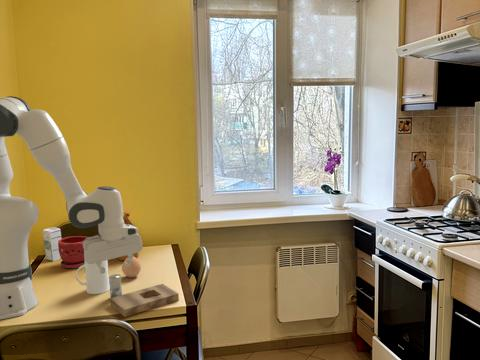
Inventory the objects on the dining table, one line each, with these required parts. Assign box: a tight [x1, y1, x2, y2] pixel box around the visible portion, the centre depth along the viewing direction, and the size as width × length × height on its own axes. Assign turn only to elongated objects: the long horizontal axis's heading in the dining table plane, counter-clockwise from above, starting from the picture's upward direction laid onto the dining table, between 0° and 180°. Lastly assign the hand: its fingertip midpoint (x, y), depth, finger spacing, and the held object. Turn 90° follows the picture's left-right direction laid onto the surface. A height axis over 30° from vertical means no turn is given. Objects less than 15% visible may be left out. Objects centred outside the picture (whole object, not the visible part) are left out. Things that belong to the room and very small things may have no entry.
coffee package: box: [118, 208, 140, 261], centre depth 202 cm, size 10×12×22 cm
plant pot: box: [58, 235, 88, 269], centre depth 192 cm, size 13×13×12 cm
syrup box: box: [42, 226, 62, 262], centre depth 202 cm, size 6×6×14 cm
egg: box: [121, 257, 142, 278], centre depth 176 cm, size 7×7×8 cm
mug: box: [75, 260, 110, 295], centre depth 162 cm, size 12×8×12 cm
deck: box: [109, 283, 180, 318], centre depth 151 cm, size 20×12×2 cm, turn 127°
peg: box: [109, 273, 123, 298], centre depth 156 cm, size 4×4×8 cm
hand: (115, 269), depth 155 cm, fingers open, 8 cm apart
